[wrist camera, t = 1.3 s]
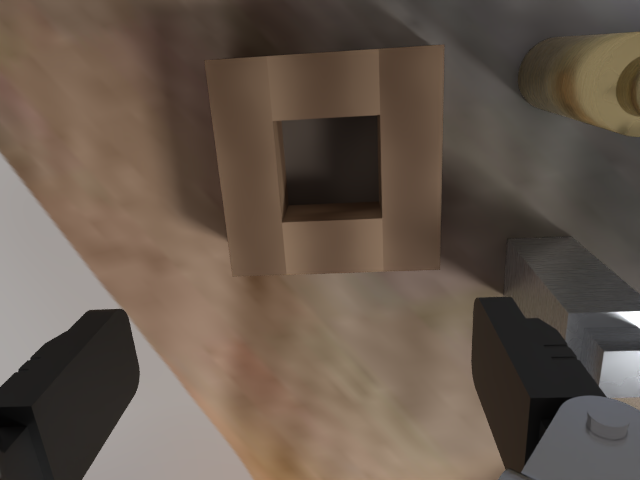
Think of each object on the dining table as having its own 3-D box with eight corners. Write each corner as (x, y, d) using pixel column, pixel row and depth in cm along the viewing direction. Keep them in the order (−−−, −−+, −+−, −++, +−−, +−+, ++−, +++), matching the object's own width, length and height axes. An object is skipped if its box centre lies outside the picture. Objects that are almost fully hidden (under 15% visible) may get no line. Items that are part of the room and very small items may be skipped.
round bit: (594, 34, 29) (750, 24, 18) (585, 107, 30) (725, 142, 19) (520, 39, 29) (627, 32, 18) (515, 111, 30) (612, 148, 19)
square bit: (571, 236, 33) (685, 333, 22) (564, 292, 34) (669, 411, 23) (507, 238, 33) (586, 335, 22) (503, 294, 35) (576, 412, 23)
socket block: (430, 45, 29) (444, 44, 25) (428, 241, 34) (440, 269, 29) (224, 58, 30) (204, 60, 26) (246, 248, 34) (232, 276, 30)
